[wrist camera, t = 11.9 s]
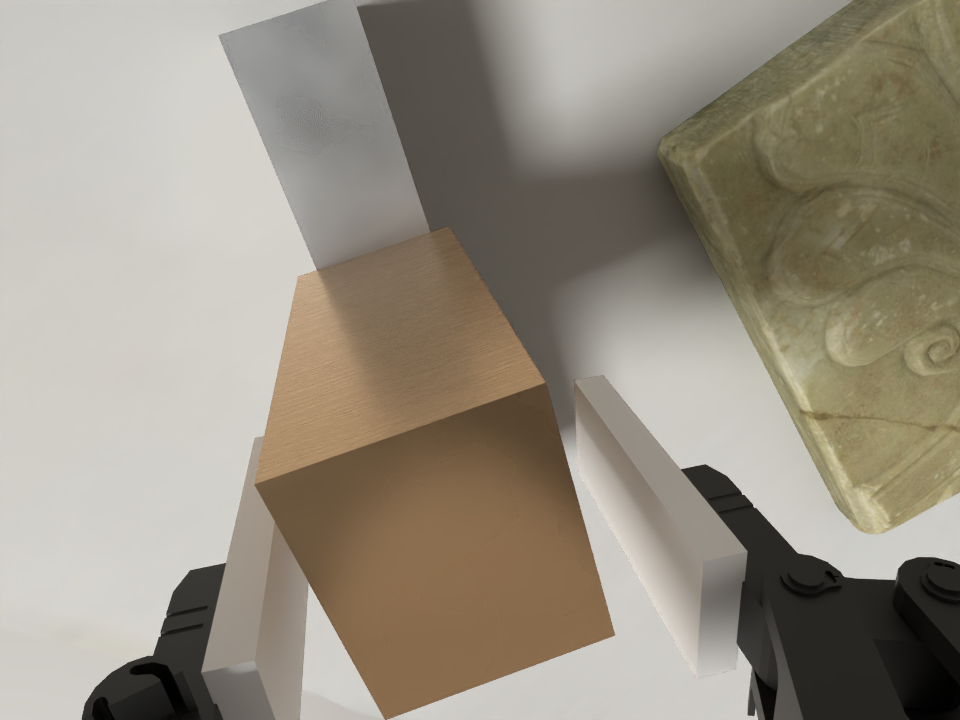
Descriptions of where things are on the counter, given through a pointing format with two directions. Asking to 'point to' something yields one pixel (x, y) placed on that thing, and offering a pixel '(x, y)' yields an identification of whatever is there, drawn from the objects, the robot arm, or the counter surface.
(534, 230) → the counter surface
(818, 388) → the decorative tile
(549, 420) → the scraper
